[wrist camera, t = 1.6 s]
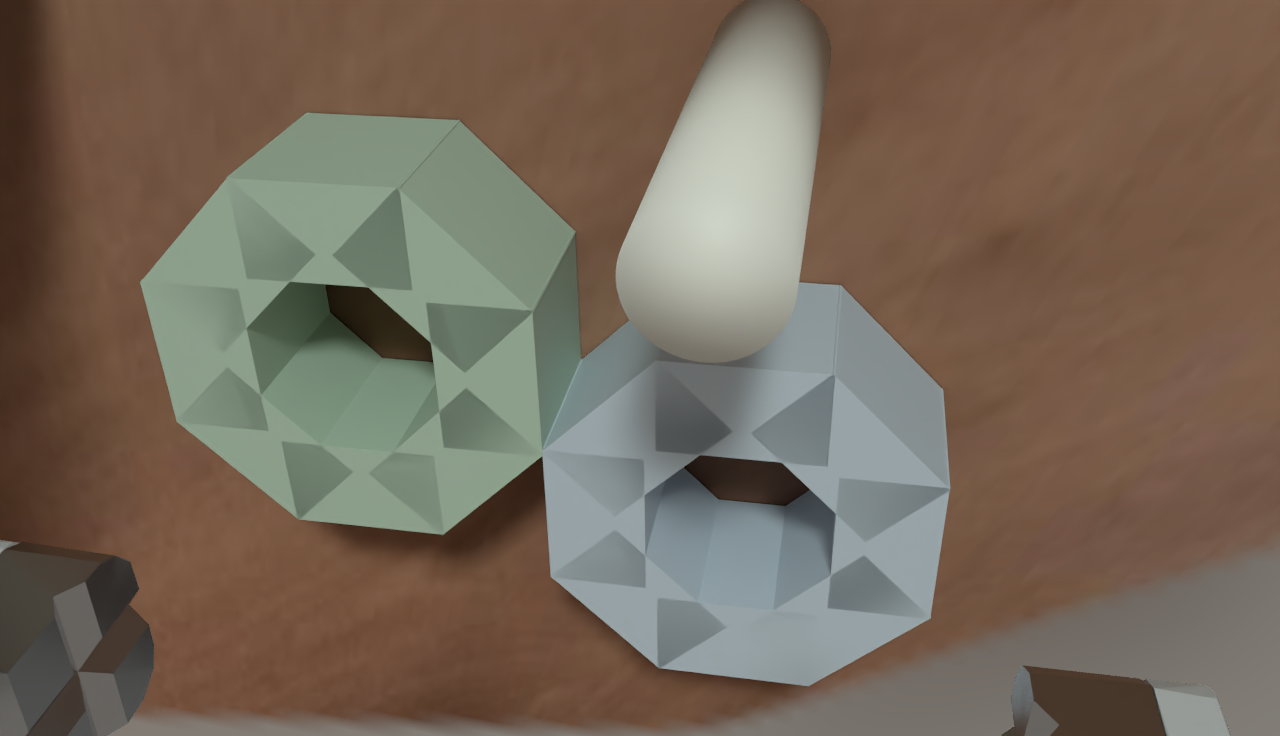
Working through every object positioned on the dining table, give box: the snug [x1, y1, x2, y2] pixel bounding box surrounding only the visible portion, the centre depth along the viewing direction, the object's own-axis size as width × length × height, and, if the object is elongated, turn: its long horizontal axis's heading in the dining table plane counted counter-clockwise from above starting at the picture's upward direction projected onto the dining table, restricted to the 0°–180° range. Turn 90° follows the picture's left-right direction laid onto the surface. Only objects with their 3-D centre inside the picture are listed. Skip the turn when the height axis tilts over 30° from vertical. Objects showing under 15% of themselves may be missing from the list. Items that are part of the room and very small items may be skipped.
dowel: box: [616, 0, 831, 363], centre depth 23 cm, size 3×3×12 cm
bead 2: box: [542, 283, 950, 687], centre depth 32 cm, size 10×10×4 cm
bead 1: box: [140, 113, 581, 535], centre depth 32 cm, size 10×10×4 cm
